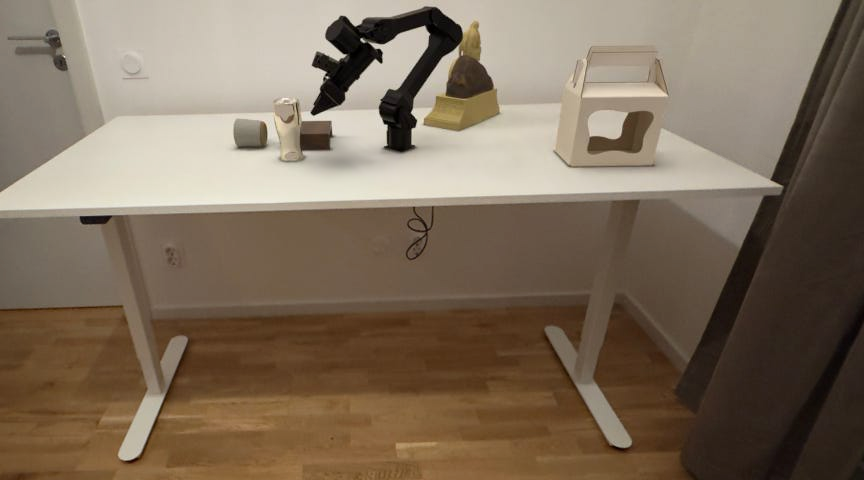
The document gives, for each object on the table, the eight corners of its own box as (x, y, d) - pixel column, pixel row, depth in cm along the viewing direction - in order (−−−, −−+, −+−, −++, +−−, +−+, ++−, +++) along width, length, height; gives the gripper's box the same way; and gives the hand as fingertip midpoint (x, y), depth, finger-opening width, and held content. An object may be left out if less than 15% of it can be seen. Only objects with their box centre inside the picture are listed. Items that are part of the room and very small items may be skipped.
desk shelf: (332, 135, 161) (330, 105, 157) (329, 149, 149) (327, 117, 145) (292, 136, 161) (289, 106, 156) (286, 150, 149) (283, 118, 144)
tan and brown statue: (466, 108, 192) (472, 16, 177) (499, 113, 186) (507, 18, 171) (423, 124, 173) (426, 23, 158) (458, 130, 166) (464, 25, 151)
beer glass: (302, 162, 140) (297, 104, 132) (276, 162, 140) (269, 103, 133) (307, 154, 146) (302, 97, 139) (281, 153, 146) (275, 97, 139)
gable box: (568, 166, 137) (587, 50, 123) (553, 151, 148) (569, 42, 134) (653, 165, 138) (682, 49, 124) (631, 150, 149) (655, 42, 135)
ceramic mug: (264, 149, 149) (260, 122, 145) (235, 149, 149) (230, 122, 145) (272, 139, 158) (269, 113, 155) (244, 139, 158) (240, 113, 155)
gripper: (331, 35, 137) (292, 80, 142) (327, 44, 121) (283, 95, 126) (363, 67, 141) (324, 109, 146) (363, 80, 125) (319, 128, 130)
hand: (313, 110), depth 137 cm, fingers open, 9 cm apart
